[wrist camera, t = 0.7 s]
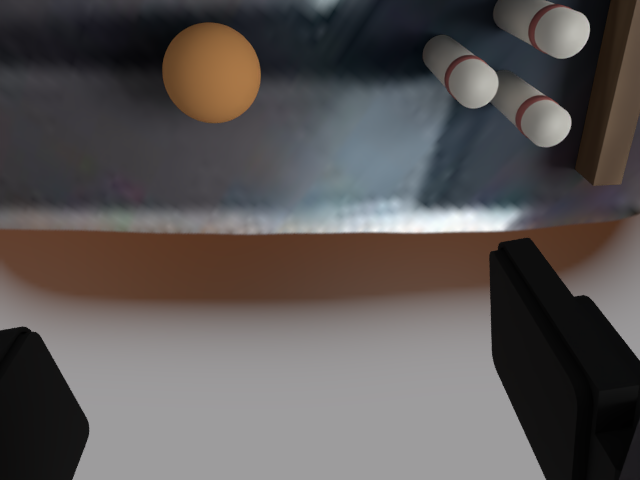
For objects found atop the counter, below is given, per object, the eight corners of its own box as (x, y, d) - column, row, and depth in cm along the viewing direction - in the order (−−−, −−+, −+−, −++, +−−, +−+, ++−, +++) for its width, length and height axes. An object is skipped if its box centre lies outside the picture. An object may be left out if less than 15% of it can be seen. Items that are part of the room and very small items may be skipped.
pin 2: (481, 105, 40) (524, 149, 32) (485, 70, 39) (531, 106, 31) (516, 104, 40) (567, 146, 32) (521, 68, 39) (576, 104, 31)
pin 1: (490, 32, 37) (539, 60, 30) (494, -9, 36) (547, 10, 29) (527, 30, 37) (585, 58, 30) (533, -11, 36) (595, 8, 29)
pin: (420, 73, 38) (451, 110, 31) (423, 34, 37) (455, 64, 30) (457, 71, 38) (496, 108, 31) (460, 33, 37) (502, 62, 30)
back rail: (574, 169, 43) (593, 185, 40) (634, -110, 34) (662, -112, 31) (600, 168, 43) (620, 184, 40) (666, -111, 34) (698, -113, 31)
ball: (179, 109, 39) (162, 138, 34) (164, 17, 36) (143, 34, 31) (266, 105, 39) (262, 134, 34) (258, 13, 36) (253, 29, 31)
